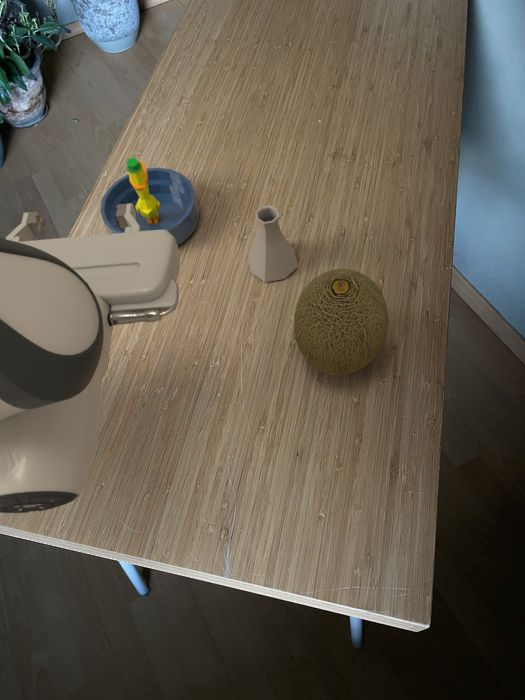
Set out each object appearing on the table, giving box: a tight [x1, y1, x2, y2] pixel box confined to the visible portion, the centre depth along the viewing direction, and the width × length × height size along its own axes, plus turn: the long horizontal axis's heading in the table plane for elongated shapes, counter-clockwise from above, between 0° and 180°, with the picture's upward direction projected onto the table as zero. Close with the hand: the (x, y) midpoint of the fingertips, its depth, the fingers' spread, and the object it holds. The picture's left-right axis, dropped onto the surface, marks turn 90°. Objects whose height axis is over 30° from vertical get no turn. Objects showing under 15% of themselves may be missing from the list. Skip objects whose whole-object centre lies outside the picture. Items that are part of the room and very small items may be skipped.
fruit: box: [293, 268, 390, 377], centre depth 70 cm, size 11×11×15 cm
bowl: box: [99, 167, 200, 246], centre depth 90 cm, size 14×14×4 cm
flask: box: [247, 204, 299, 283], centre depth 81 cm, size 7×7×10 cm
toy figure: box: [126, 157, 161, 225], centre depth 86 cm, size 7×4×12 cm, turn 10°
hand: (80, 212), depth 59 cm, fingers open, 8 cm apart
